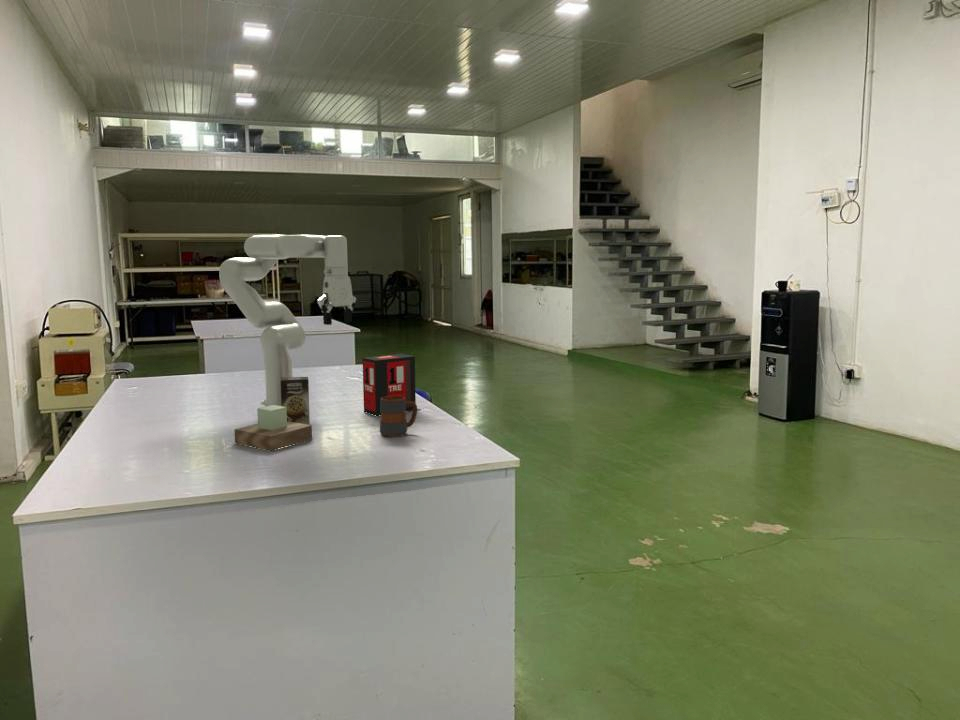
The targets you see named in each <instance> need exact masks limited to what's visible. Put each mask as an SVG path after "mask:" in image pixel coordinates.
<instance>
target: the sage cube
mask: <svg viewBox="0 0 960 720" xmlns="http://www.w3.org/2000/svg"><path fill="white" fill-rule="evenodd" d="M256 412H257V424H258V428H262V429H267V430H275V429H279V428H283V427H287V408H286V407H283V406H277V405H270V406H266V407H265V406H262V407H258V408H257V411H256Z"/></svg>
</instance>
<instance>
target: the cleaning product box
mask: <svg viewBox="0 0 960 720" xmlns="http://www.w3.org/2000/svg"><path fill="white" fill-rule="evenodd" d="M362 387H363V390H362V391H363V393H362V394H363V413H364V412H367V413H370V414H373V415H376V416H378V417H380V416H379V415H381V412H380V399H381V398H382V397H385V396H403V397H405V400H406V402H414V403H417V400H416V397H417V395H416V356H415V355H410V354H404V353H396V354H386V355H385V354H384V355H378V356H377V355H376V356H368V357H367V356H366V357H362ZM411 410H413V406H406V411H408V412H412V411H411ZM367 413H366V414H367ZM370 414H369V415H370ZM373 415H372V416H373ZM376 416H375V417H376Z"/></svg>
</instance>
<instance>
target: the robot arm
mask: <svg viewBox="0 0 960 720" xmlns="http://www.w3.org/2000/svg"><path fill="white" fill-rule="evenodd" d="M243 249H244V252H245V253H246V255H247V256H248V257H232V258H227V259H226V260H224V261H223V262H222V263H221V264H220V267H219V273H218V274H219V276H218V277H219V281H220V285H221V287H222V289H223V291H224V292H225V293H226V294H227V296H228V297H229V298H230V299H232V301H233V302H234V303H235V304H236V305H237V307H238V309H239V310H240V311H241V313H242V314H243V315H244V317H245V318H246V319H247V320H248V322H249V323H250V324H251V326H252V327H253V328H255V329H257V330H258V329H261V330H263V331H262V332H261V335H260V346H261V350H262V354H263V360H264V361H263V364H264V378H265V381H264V382H265V397H266V398H265V399H263V400H262V401H261V402H260V404H261V405H262V406H264V407H266V406H270V405H277V406H281V382H280V379H281V378H285V377H294V374H293V371H294V370H293V362H292V358H291V356H290V354H289V351H292V350H297V349H301V347H303V345H305V342H306V338H307V337H306V332H305V329H304V328H303V326H302V325H301V323H300V322H299V320H298V319H297V318H296V317H295V315H294V313H292V311H291V310H290V309H289V307H287V306H286V305H285V304H284V303H283V302H280V301H267V300H264V299H263V297H261V295H260V294H259V292H258V291H257V290H256V289H255V288H254V287H252V286H251V285H250V284H249V283H247V282H255V281H260V280H262V279H263V278H265V277H266V276H267V275H268V273H269V272H270V271H271V270H272V268H273V267H274V266H275V264H277V262H278V261H279V260H286V259H289V258H291V259H292V258H299V259H300V258H304V259H306V258H307V259H308V258H310V259H313V258H318V259H320V258H322V259H323V258H324V270H323V274H324V278H323V285H322V296H320V297H319V298H318V299H317V300H316V301H317V302H316V303H317V304H318V307H319V309H320V310H321V313H322V317H323V318H322V319H323V325H326V326H327V325H328V326H331V325H332V323H333V321H332V319H333V317H332V312H331V311H332V309H333V307H335V308H337V307H343V309H344V310H343V322H344V323H352V322H353V311H354V307H355V306H356V302H357V297H356V296H354V295H353V288H352V281H351V279H350V276H349V270H348V269H349V268H348V240H347V237H346V236H344V235H337V234H336V235H333V234H332V235H319V234H257V235H252V236H250V237H248V238H247V239H246V240H245V241H244V244H243Z"/></svg>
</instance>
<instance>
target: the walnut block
mask: <svg viewBox="0 0 960 720" xmlns="http://www.w3.org/2000/svg"><path fill="white" fill-rule="evenodd" d="M233 430H234V444H235V443H237V444H236V445H238V444H242V445H241V446H243V445H247V446H246V447H248V446H252V447H256V448H255V449H257V448H260V449H259V450H262V449H265V450H264V451H266V450H270V451H269V452H273V451H272V450H275V449H278V448H281V447H285V446H289V445H292V446H294V445H293V444H295V445H297V444H296V443H299V444H301V443H300V442H302V443H305V442H304V441H306V442H308V440H309V441H312V440H313V425H311V424H310V425H307V424H301V423H296V422H290V421H287V427H283V428H279V429H275V430H267V429H262V428H258V423H253V424H251V425H247V426H242V427H238V428H234V429H233ZM311 439H312V440H311ZM252 447H251V448H252ZM289 447H290V446H289ZM285 448H286V447H285ZM278 450H279V449H278ZM275 451H276V450H275Z"/></svg>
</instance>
